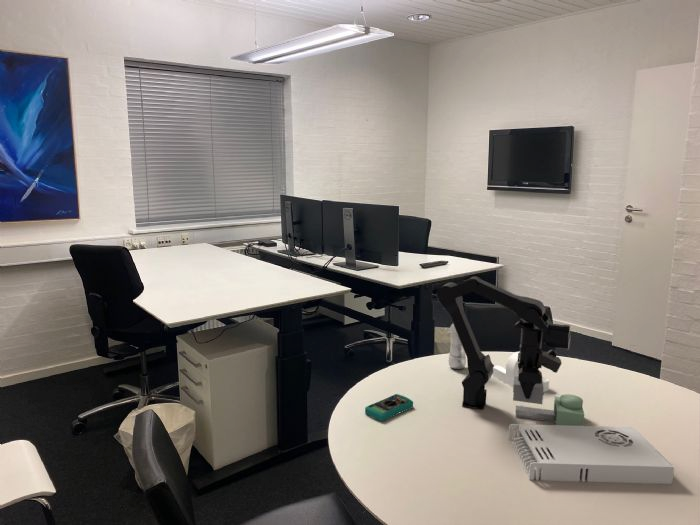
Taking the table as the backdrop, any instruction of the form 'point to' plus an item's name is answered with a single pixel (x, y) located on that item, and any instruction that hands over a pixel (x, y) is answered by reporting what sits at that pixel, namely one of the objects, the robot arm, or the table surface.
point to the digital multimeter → (388, 407)
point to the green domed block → (557, 411)
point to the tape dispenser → (512, 372)
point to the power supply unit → (589, 454)
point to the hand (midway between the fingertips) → (527, 393)
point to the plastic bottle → (456, 351)
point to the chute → (535, 395)
